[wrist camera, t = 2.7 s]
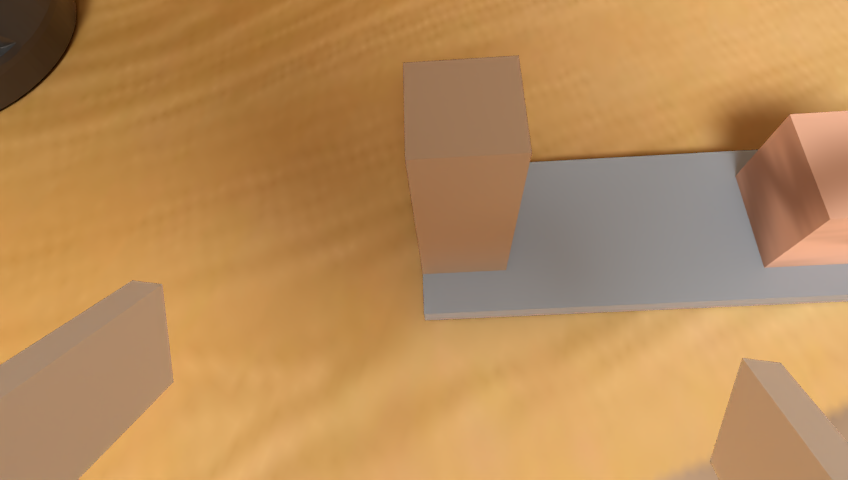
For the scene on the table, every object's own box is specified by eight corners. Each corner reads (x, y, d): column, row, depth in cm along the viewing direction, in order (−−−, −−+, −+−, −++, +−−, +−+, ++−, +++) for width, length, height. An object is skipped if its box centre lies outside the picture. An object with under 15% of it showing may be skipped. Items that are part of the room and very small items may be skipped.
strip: (420, 178, 30) (402, 20, 20) (834, 155, 29) (1031, -21, 19) (425, 320, 26) (406, 216, 16) (893, 299, 26) (1170, 175, 16)
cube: (735, 176, 28) (789, 114, 23) (836, 170, 28) (911, 107, 23) (764, 267, 26) (830, 219, 21) (874, 262, 25) (964, 212, 21)
